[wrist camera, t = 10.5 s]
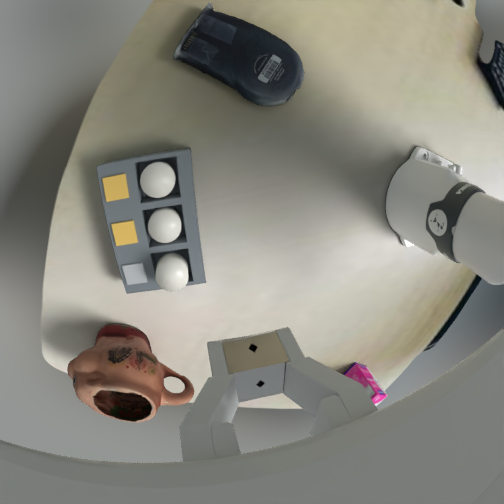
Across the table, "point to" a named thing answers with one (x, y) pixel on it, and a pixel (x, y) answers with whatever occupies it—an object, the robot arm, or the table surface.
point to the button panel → (138, 215)
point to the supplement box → (367, 382)
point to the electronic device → (242, 57)
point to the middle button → (165, 224)
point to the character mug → (124, 376)
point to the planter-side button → (172, 272)
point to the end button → (158, 179)
